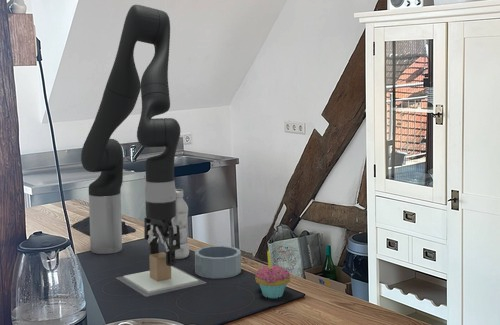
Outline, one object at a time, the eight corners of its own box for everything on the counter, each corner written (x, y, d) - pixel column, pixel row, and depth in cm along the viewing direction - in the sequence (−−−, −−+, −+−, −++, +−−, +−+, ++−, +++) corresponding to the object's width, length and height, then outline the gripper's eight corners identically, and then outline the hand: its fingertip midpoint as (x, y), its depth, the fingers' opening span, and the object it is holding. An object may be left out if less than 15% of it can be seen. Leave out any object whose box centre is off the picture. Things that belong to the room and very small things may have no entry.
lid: (123, 278, 167) (122, 253, 166) (171, 268, 175) (171, 244, 174) (148, 293, 156) (147, 266, 155) (198, 282, 164) (198, 257, 163)
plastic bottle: (185, 262, 183) (184, 192, 180) (162, 261, 184) (161, 191, 181) (192, 256, 189) (191, 188, 186) (169, 254, 190) (168, 187, 187)
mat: (115, 280, 167) (115, 277, 167) (173, 268, 177) (173, 266, 177) (145, 299, 154) (145, 296, 154) (206, 285, 164) (206, 282, 163)
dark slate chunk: (108, 221, 233) (108, 208, 232) (139, 233, 216) (138, 219, 215) (67, 228, 223) (67, 214, 223) (96, 241, 207) (96, 226, 206)
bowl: (186, 272, 174) (186, 250, 174) (224, 264, 181) (224, 243, 181) (210, 284, 165) (210, 261, 164) (249, 275, 172) (249, 253, 171)
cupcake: (278, 303, 152) (279, 253, 150) (247, 296, 156) (248, 248, 154) (296, 292, 159) (296, 245, 157) (266, 286, 163) (266, 240, 162)
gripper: (188, 200, 159) (189, 265, 161) (160, 192, 170) (161, 252, 173) (161, 204, 154) (163, 271, 157) (134, 196, 166) (136, 257, 168)
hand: (162, 261), depth 165 cm, fingers open, 8 cm apart
